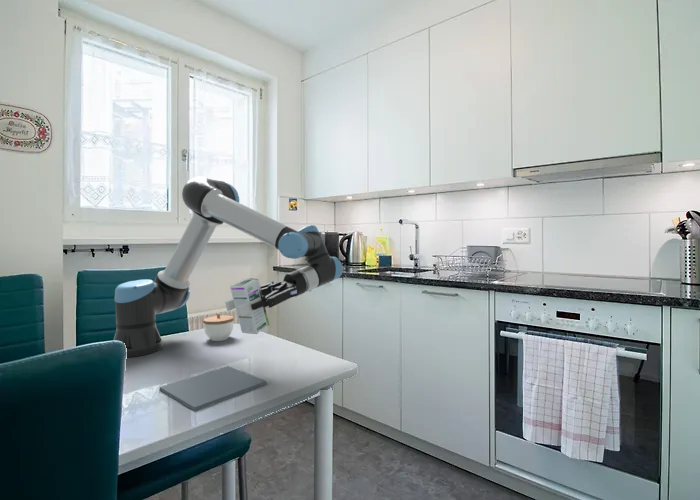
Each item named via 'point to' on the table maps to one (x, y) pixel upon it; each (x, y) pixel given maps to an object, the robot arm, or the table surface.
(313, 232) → the robot arm
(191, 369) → the table surface
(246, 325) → the syrup box
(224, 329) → the lidded jar
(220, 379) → the mat
